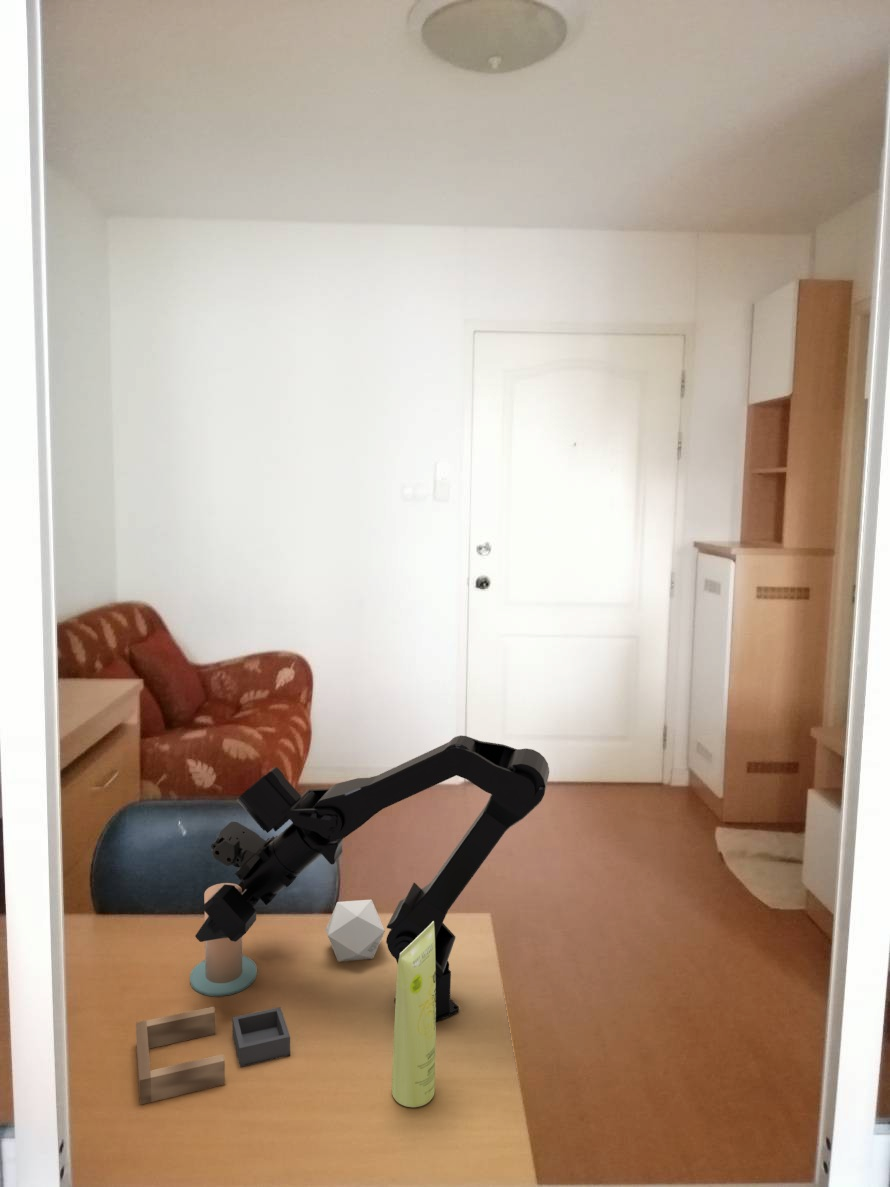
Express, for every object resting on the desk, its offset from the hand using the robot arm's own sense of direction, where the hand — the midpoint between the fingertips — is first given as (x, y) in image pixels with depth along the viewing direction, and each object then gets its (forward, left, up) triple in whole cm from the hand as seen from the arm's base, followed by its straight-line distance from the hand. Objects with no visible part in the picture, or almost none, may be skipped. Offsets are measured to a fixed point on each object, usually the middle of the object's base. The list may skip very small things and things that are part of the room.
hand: (213, 920), depth 116 cm
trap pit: (-17, 0, -8) cm, 19 cm away
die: (-6, -19, -8) cm, 22 cm away
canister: (-1, -1, -8) cm, 8 cm away
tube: (-34, -11, -8) cm, 37 cm away
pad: (-1, -1, -8) cm, 8 cm away
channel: (-15, +9, -8) cm, 19 cm away
